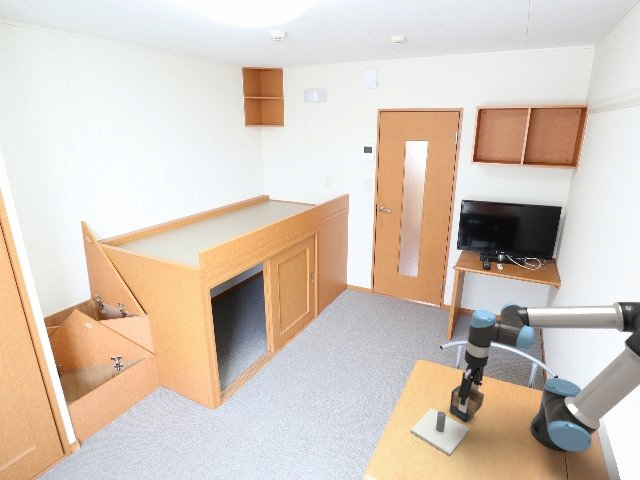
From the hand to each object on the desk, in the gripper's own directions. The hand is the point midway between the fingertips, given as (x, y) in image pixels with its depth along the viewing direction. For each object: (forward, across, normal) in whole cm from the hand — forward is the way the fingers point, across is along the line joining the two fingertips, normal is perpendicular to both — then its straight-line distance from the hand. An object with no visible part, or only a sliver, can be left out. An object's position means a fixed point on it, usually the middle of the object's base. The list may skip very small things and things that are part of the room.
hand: (467, 404), depth 143 cm
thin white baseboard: (+15, +4, -7) cm, 17 cm away
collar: (0, 0, 0) cm, 0 cm away
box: (+15, -10, -5) cm, 19 cm away
